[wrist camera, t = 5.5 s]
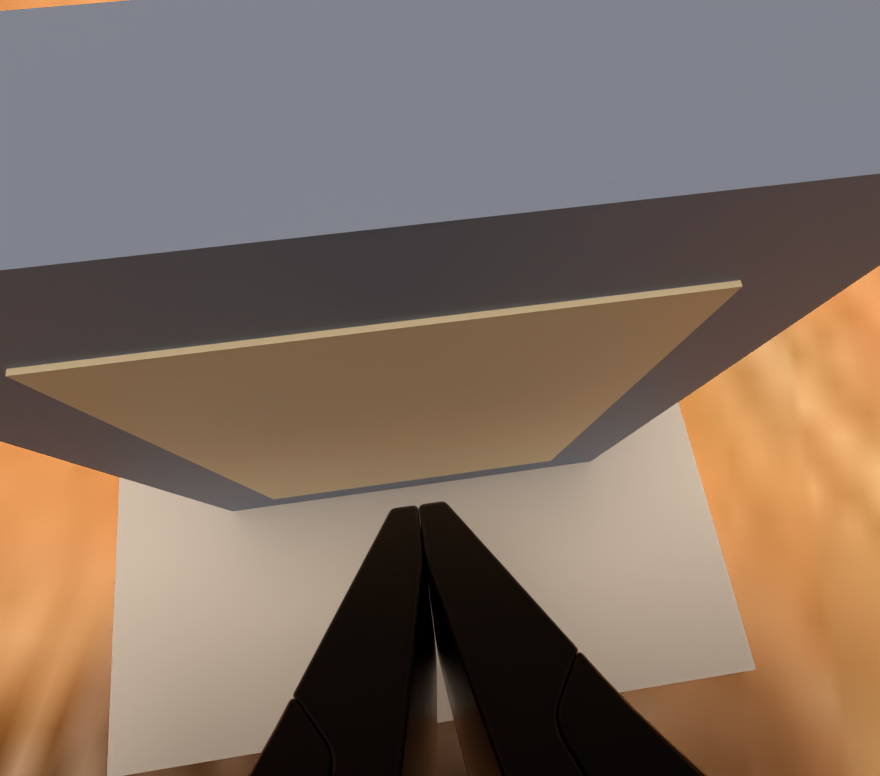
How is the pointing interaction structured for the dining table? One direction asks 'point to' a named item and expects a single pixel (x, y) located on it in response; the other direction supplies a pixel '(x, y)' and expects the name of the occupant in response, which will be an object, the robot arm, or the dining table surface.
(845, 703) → the dining table surface
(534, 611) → the robot arm
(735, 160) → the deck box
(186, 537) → the mat
